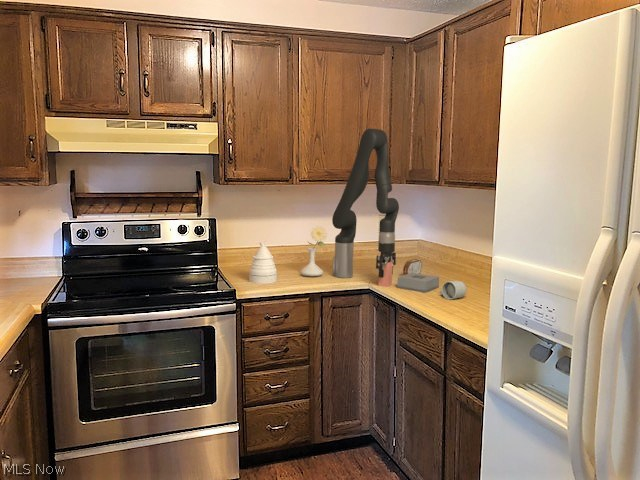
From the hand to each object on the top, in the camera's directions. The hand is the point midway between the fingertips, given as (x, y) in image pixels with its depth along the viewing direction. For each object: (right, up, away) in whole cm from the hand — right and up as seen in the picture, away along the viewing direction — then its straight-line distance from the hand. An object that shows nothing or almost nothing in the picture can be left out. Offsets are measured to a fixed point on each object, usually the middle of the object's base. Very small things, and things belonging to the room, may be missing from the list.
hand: (385, 276), depth 248 cm
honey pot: (-57, -3, +6) cm, 58 cm away
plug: (0, -4, +1) cm, 4 cm away
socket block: (+15, -5, -3) cm, 16 cm away
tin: (+16, -2, +23) cm, 28 cm away
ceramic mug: (+25, -8, -20) cm, 34 cm away
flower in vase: (-34, -1, +19) cm, 39 cm away
